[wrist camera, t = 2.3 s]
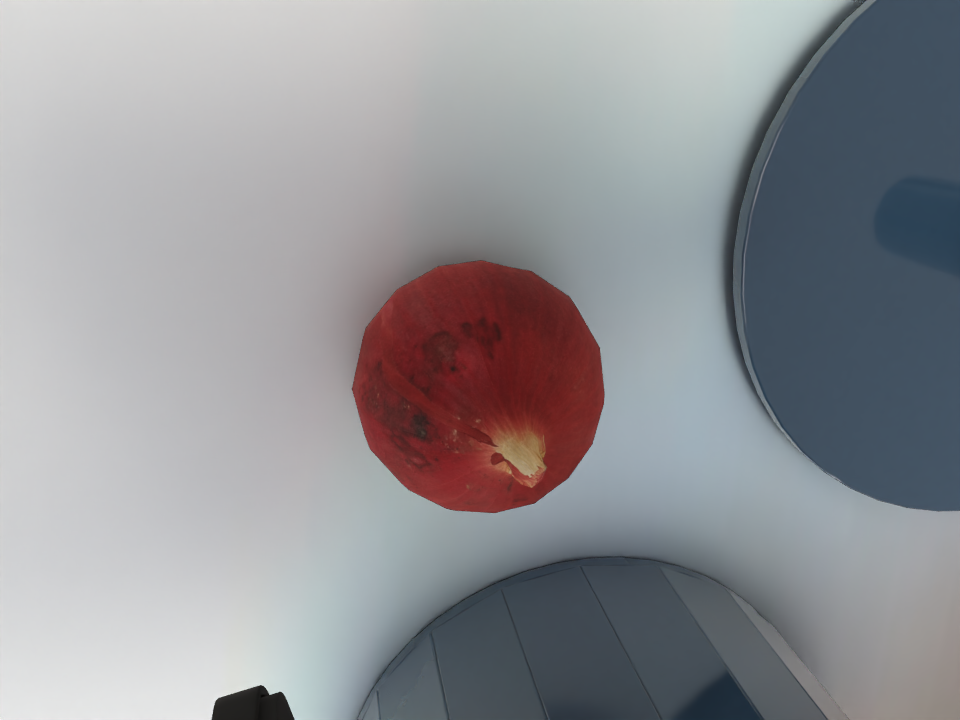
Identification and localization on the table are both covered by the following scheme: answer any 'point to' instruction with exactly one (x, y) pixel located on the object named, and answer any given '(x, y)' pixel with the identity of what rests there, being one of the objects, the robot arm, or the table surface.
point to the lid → (863, 256)
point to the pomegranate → (479, 386)
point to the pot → (600, 653)
